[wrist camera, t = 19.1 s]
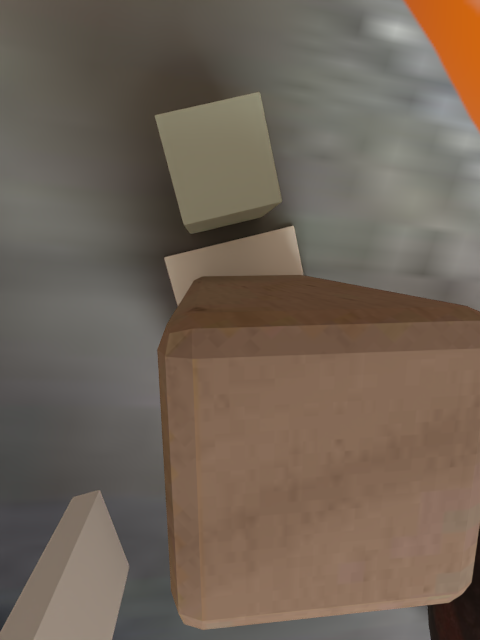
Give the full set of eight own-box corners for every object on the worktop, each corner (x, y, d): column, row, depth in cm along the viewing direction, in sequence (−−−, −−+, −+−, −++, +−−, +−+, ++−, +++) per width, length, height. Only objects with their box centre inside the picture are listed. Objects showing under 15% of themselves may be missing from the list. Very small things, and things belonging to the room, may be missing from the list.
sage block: (170, 157, 26) (154, 115, 18) (244, 140, 26) (259, 91, 19) (190, 234, 27) (183, 225, 20) (261, 217, 28) (282, 201, 20)
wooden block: (190, 275, 28) (148, 320, 8) (309, 274, 28) (530, 310, 9) (195, 389, 29) (169, 652, 10) (305, 384, 30) (483, 616, 11)
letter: (164, 257, 27) (163, 257, 27) (292, 226, 28) (293, 225, 28) (213, 429, 31) (213, 431, 30) (327, 398, 31) (328, 400, 31)
